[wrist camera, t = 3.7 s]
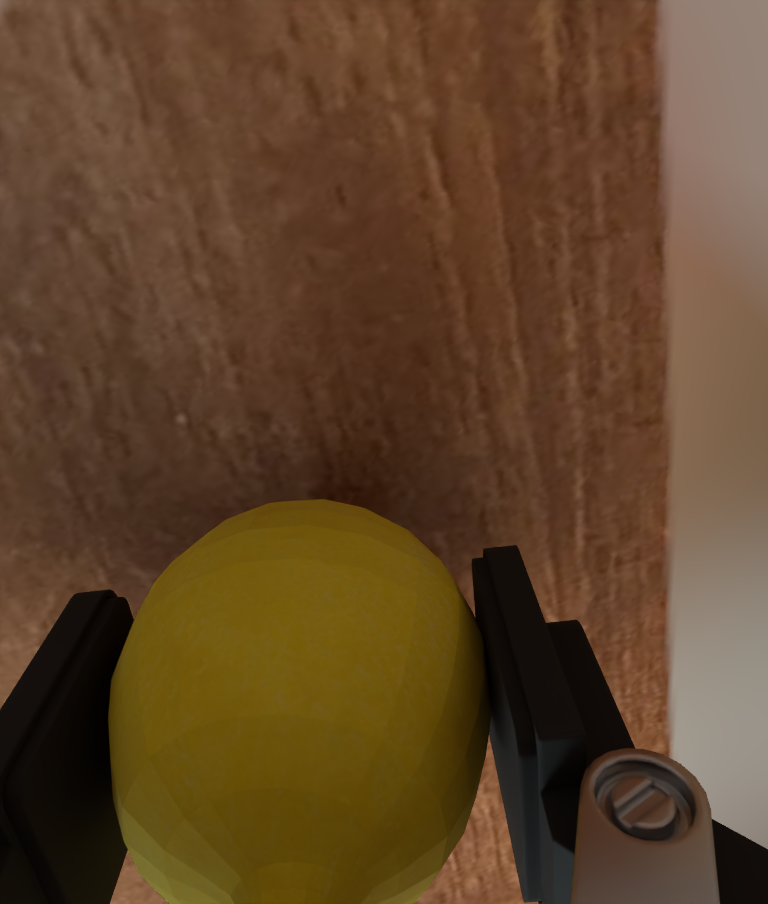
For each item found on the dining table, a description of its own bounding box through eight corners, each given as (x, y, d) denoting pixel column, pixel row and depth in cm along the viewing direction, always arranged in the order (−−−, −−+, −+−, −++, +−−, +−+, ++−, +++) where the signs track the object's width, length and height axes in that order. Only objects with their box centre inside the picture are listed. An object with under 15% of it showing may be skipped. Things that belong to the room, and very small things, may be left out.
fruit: (250, 375, 13) (94, 701, 5) (508, 499, 14) (670, 904, 7) (143, 599, 15) (-78, 1063, 7) (378, 692, 16) (388, 1168, 8)
